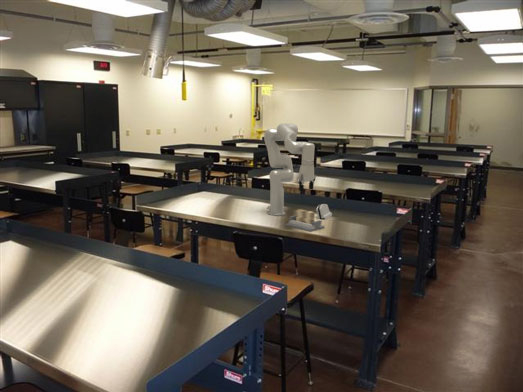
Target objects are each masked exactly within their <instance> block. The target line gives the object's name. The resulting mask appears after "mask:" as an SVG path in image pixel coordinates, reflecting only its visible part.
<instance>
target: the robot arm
mask: <svg viewBox="0 0 523 392" xmlns="http://www.w3.org/2000/svg"><path fill="white" fill-rule="evenodd" d="M298 132H299V128H298V126H297V125H296V124H295V123H280V124H278V125H277V126H276V128H269V129H266V130H265V132H264V136H263V137H264V138H263V139H264V143H265V147H266V150H267V155H268V162H269V166H270V168H272V170H271V171H270V173H269V174H268V175H269V184H270V190H269V191H270V192H269V193H270V195H269V199H270V200H269V201H270V202H269V205H268V206H267V207H266V210H268V211H267V215H271V216H285V215H286V212H285V210H284V206H285V205H284V202H285V199H284V198H285V189H284V186H283V183H291V182H292V181H294V176H295V174H294V168H293V161H292V158H291V156H290V155H289V154H287V153H281V150H280V146H279V145H278V143H277V142H278V141H280V142H284V147H285V149H286V150H287V151H288V152H289V153H290V154H293V155H297V154H298V155H301V165H300V167H299V171H298V176H297V178H296V179H297V183H298V191H300V192H304V187H305V185H304V184H305V182H309V183H308V190H312V191H313V190H314V184H315V181H316V178H317V176H316V174H315V165H314V163H315V162H314V161H315V160H314V159H315V150H316V149H315V148H316V147H315V144H314V143H312V142H311V143H310V142H308V141H296V140H297V138H298V136H297V135H298Z"/></svg>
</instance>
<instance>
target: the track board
mask: <svg viewBox="0 0 523 392" xmlns="http://www.w3.org/2000/svg"><path fill="white" fill-rule="evenodd" d="M285 226H286V227H290V228H293V229H294V228H295V229H298V230H302V231H306V232H309V233H312V232H314V231H318V230H322V229H325V226H324V225H322V220H319V219H317V220H314V222H312V224H308V223H303V222H299V221H296V215H291V216H289V217H288V223H285Z"/></svg>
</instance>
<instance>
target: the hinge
mask: <svg viewBox="0 0 523 392" xmlns="http://www.w3.org/2000/svg"><path fill="white" fill-rule="evenodd" d="M315 212H316V214H317V220H319V219H324V221H325V220H327V219H329V218H330V217H333V212H331V211H330V209H329V205H328V204H327V203H322V204H318V205H317V207H316V210H315Z"/></svg>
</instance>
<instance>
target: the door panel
mask: <svg viewBox="0 0 523 392" xmlns="http://www.w3.org/2000/svg"><path fill="white" fill-rule="evenodd" d="M315 212H316V211H311V210H306V209H300V208H298V209H296V221H299V222H303V223H308V224H312V222H314V221H315Z"/></svg>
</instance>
